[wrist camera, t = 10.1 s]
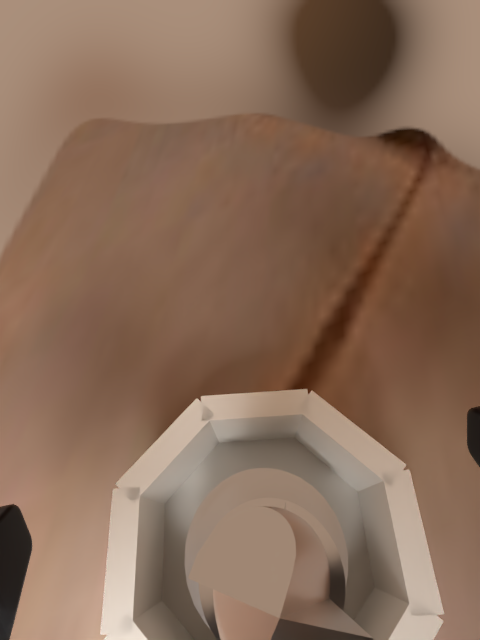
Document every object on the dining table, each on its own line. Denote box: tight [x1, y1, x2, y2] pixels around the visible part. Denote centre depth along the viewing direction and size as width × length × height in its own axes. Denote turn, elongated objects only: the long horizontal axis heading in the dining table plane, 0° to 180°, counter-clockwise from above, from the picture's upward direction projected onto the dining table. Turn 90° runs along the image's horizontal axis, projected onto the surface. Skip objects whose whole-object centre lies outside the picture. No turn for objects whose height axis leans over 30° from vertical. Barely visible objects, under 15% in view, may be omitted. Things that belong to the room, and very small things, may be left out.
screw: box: [184, 468, 373, 640], centre depth 8 cm, size 13×5×5 cm
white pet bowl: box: [100, 389, 444, 640], centre depth 13 cm, size 10×10×4 cm
